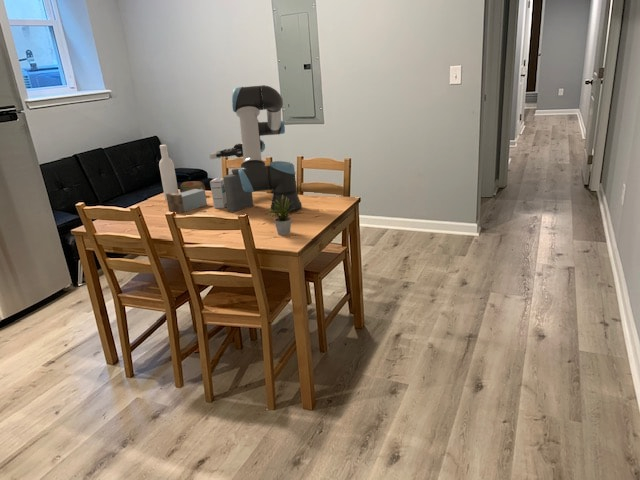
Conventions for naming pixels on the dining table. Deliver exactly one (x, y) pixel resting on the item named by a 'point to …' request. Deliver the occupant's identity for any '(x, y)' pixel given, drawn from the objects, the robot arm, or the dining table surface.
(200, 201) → the slate block
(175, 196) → the walnut board
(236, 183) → the flask
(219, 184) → the syrup box
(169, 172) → the bottle
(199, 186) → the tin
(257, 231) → the dining table surface
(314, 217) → the dining table surface
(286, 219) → the house plant
